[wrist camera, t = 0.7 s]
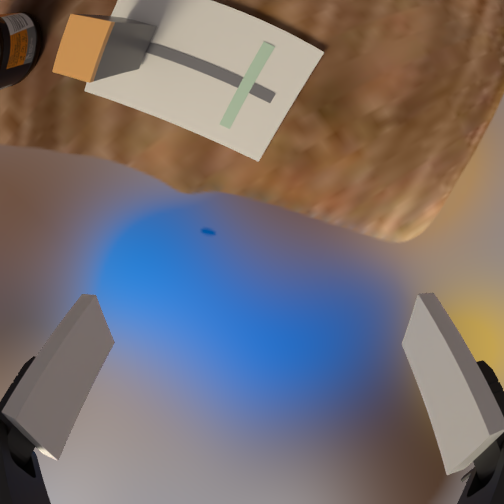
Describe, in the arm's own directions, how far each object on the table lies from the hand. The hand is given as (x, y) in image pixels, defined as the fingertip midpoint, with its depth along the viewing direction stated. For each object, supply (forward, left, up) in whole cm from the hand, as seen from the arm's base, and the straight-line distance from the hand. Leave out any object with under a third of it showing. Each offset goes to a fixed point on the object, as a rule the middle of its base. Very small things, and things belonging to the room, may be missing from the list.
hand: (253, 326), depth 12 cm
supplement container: (0, -35, -25) cm, 43 cm away
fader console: (-4, -10, -25) cm, 27 cm away
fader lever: (-4, -17, -24) cm, 29 cm away
